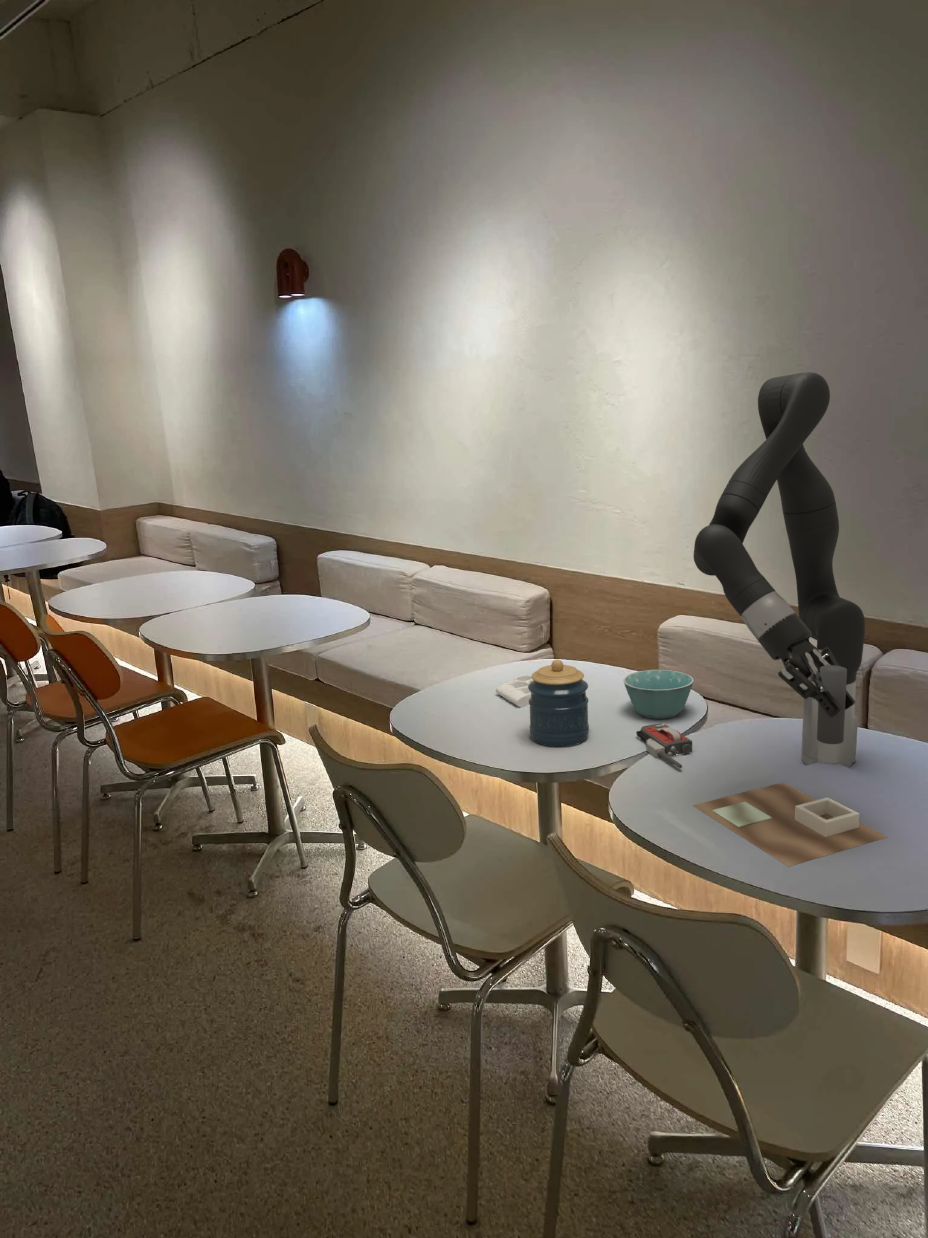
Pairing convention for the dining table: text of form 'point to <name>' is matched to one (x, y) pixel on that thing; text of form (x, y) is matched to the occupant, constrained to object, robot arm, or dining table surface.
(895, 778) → the dining table surface
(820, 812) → the white square frame
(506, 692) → the white brass knuckles
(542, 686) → the canister
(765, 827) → the brown wooden flat board
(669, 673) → the bowl
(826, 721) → the plug
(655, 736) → the walkie-talkie
